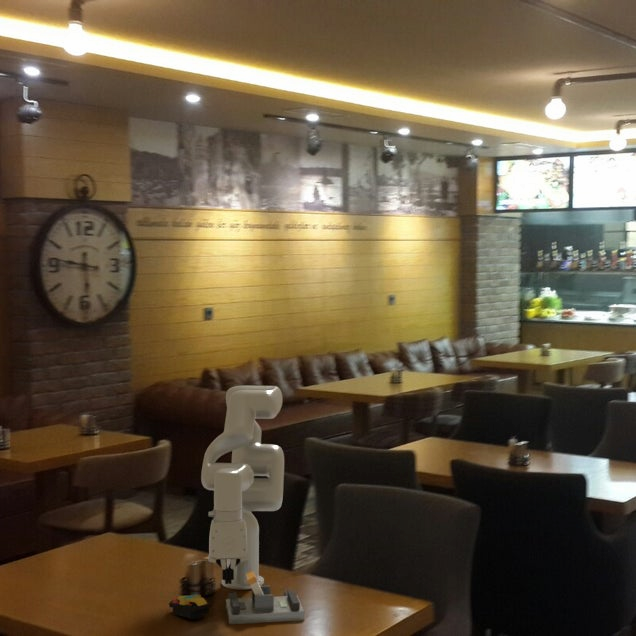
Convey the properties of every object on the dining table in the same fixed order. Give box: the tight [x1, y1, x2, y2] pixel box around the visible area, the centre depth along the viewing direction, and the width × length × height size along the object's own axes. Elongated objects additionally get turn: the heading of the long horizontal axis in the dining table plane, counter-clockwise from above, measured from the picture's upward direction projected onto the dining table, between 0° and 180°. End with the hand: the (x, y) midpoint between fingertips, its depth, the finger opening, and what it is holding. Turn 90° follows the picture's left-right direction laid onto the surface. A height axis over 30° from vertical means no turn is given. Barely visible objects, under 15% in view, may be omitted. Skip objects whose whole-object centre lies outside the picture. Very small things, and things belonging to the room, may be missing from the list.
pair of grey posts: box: [227, 589, 300, 613], centre depth 264 cm, size 18×18×4 cm
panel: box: [225, 585, 305, 625], centre depth 260 cm, size 13×20×6 cm, turn 100°
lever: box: [246, 571, 264, 595], centre depth 260 cm, size 6×2×9 cm, turn 10°
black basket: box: [168, 593, 213, 621], centre depth 258 cm, size 6×13×6 cm, turn 44°
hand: (228, 582), depth 258 cm, fingers closed
